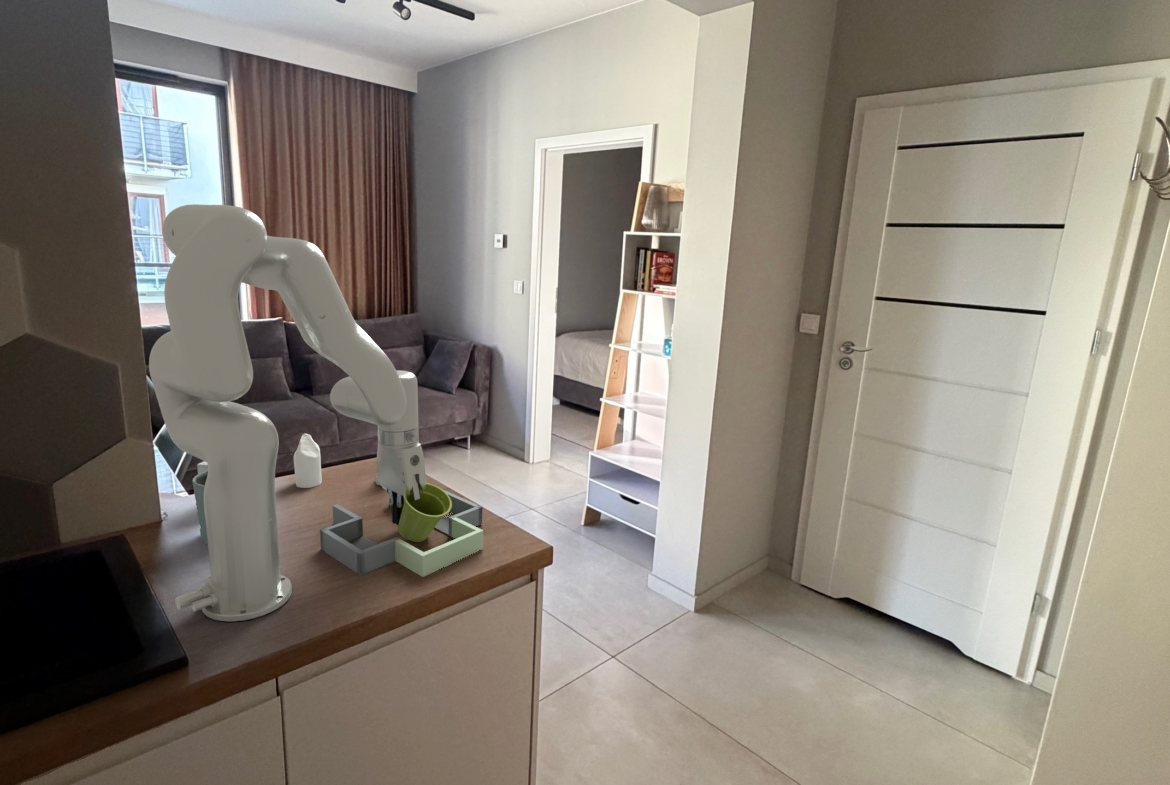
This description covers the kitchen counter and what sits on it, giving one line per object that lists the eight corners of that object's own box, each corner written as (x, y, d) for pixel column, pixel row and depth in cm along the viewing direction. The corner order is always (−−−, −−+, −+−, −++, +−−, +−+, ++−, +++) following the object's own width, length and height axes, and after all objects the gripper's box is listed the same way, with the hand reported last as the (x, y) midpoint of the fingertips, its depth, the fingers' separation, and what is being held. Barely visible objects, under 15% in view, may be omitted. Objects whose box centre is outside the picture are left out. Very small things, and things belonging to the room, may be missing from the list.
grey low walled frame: (387, 593, 102) (387, 571, 101) (299, 535, 119) (298, 516, 118) (509, 537, 123) (509, 519, 122) (419, 495, 140) (419, 478, 139)
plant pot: (445, 539, 123) (461, 507, 119) (410, 555, 115) (425, 521, 111) (416, 509, 126) (430, 477, 123) (379, 523, 118) (393, 489, 115)
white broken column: (308, 439, 137) (286, 436, 138) (310, 489, 140) (289, 486, 141) (325, 432, 143) (304, 429, 144) (327, 480, 146) (306, 477, 147)
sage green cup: (192, 532, 117) (187, 473, 115) (250, 519, 124) (246, 463, 121) (205, 553, 110) (199, 491, 107) (266, 538, 117) (262, 479, 114)
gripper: (439, 439, 117) (440, 527, 122) (391, 422, 126) (394, 505, 130) (406, 449, 111) (409, 541, 116) (358, 430, 120) (363, 516, 125)
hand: (401, 521), depth 123 cm, fingers closed
